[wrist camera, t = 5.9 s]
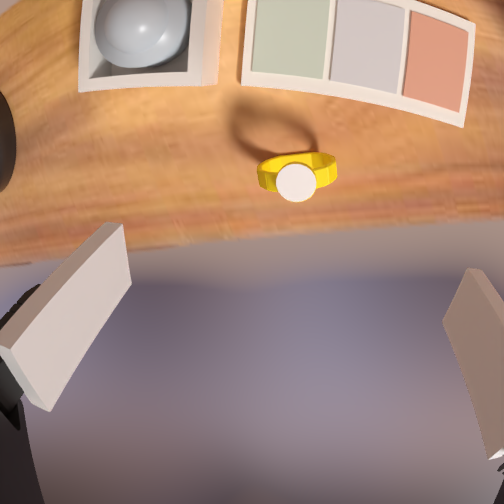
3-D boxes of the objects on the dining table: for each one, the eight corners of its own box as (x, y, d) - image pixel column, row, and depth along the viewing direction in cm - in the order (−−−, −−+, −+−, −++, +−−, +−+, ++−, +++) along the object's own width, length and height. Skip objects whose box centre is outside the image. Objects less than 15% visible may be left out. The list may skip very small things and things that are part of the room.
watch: (266, 179, 28) (253, 206, 23) (261, 149, 26) (246, 169, 21) (335, 173, 26) (339, 199, 21) (332, 142, 25) (336, 160, 20)
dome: (112, 70, 22) (77, 73, 17) (117, -6, 18) (84, -16, 14) (193, 65, 21) (169, 64, 17) (199, -16, 17) (178, -35, 13)
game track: (242, 85, 23) (240, 85, 23) (251, -26, 18) (250, -29, 18) (459, 126, 22) (464, 128, 22) (472, 24, 17) (476, 23, 16)
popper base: (110, 86, 24) (78, 92, 20) (116, -13, 19) (85, -23, 15) (217, 84, 24) (200, 86, 19) (226, -26, 18) (212, -45, 14)
